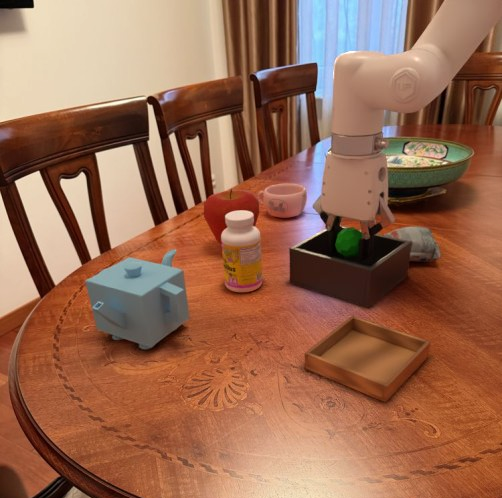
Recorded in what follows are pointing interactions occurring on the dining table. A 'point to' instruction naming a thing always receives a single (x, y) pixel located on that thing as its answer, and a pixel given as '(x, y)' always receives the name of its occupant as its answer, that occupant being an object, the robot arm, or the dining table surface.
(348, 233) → the polyhedron
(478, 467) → the dining table surface
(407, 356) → the tray
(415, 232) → the packaged food
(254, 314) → the dining table surface
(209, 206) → the apple
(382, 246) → the dark brown open box
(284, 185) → the mug
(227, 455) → the dining table surface
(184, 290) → the teapot
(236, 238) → the supplement bottle
